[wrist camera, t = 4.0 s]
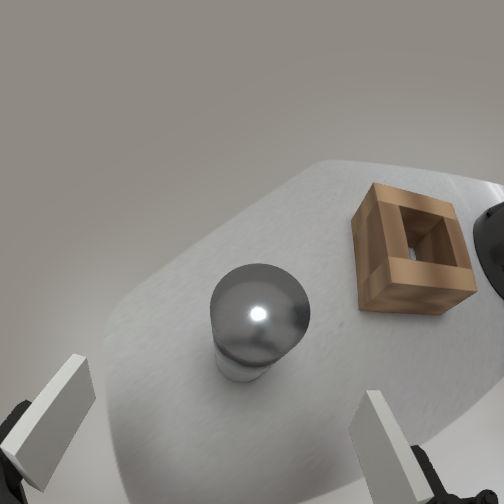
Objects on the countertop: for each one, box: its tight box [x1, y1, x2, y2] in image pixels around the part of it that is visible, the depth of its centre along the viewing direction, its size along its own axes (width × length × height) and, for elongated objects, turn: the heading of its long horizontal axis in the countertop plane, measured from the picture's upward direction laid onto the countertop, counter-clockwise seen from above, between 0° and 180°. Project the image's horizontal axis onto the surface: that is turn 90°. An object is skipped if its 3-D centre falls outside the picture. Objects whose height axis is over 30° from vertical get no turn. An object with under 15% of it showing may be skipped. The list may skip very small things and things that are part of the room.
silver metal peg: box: [210, 264, 310, 382], centre depth 17 cm, size 4×4×12 cm
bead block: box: [351, 182, 477, 315], centre depth 25 cm, size 10×10×6 cm
